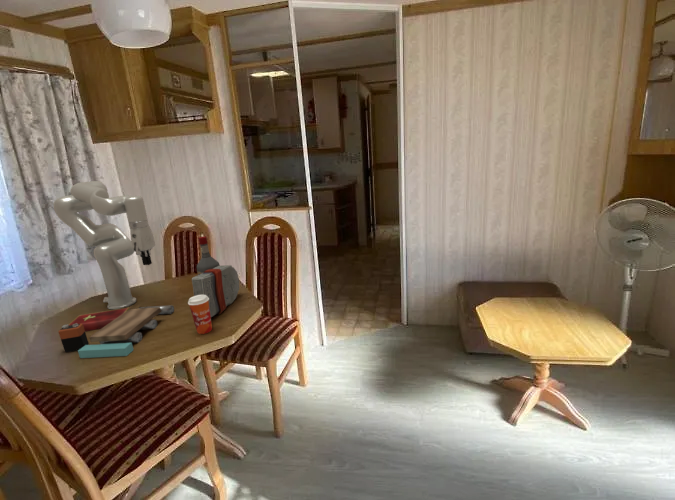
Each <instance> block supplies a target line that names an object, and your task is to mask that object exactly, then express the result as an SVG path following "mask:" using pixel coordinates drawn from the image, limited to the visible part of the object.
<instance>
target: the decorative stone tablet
mask: <svg viewBox="0 0 675 500" xmlns="http://www.w3.org/2000/svg"><path fill="white" fill-rule="evenodd" d="M191 283H192V289H193V290H192V291H193V296H196V295H206V296H208V298H209V300H208V302H209V309H210V316H211V318H212V317H214V316H215V315H221V314H222V313H223V312H224V311H225V310H227V306H230V305H231V304H233V302H234V301H235V300H236V299H237V297H238V293H239V290H240V277H239V274H238V271H237V269H235V267H234V266H232V265H220V266H217V267H215V268H213V269H208V270H206V271H204V272H203V273H202V274H200V275H198V274H197V275H195V276H193V277H192V278H191Z"/></svg>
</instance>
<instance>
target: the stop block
mask: <svg viewBox="0 0 675 500" xmlns="http://www.w3.org/2000/svg"><path fill="white" fill-rule="evenodd" d="M77 352H78V356H79V358H80V359H90V358H92V359H93V358H111V357H112V358H113V357H127V356H129V354H130V353H132V352H134V346H133V343H115V344H99V343H96V344H88V345H85V346H84V347H82V348H81V349H80V350H77Z"/></svg>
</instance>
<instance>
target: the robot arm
mask: <svg viewBox="0 0 675 500" xmlns="http://www.w3.org/2000/svg"><path fill="white" fill-rule="evenodd" d="M109 194H110V193H109V192H108V187H107V186H106V184H105V183H103V182H101V181H100V180H91V181H83V182H77V183H75V184H73V185H72V186H71V188H70V195H64V196H60V197H58V198H56V200H54V202H53V209H54V212H55V215H57V217H58V218H59V219H60V221H62V222H63V223H64V224H65V225H66V226H68V227H70V229H72V230H73V232H74V233H76V234H77V235H78V236H79V238H80V239H81V240H82V241H83V242H84V243H85V244H86V245H87V246H88V247H95V248H94V249H93V256H94V258H95V260H96V262H97V265H98V266H99V268H100V272H101V276H102V278H103V282H104V285H105V290H106V292H107V296H105V297H103V300H102V302H103V303H108V304H107V309H109V310H116V309H122V308H128V307H129V306H132V305H134V304H135V303H137V298H136V297H133V296H132V292H131V288H130V285H129V281H128V276H127V272H126V269H125V266H123V265H122V264H121V263H120V262H119V260H122V259H124V258H128V257H130V256H132V255H134V253H135V254H136V255H137V256H140V258H141V261H142V262H141V263H142V265H144V266H150V265H151V264H152V258H151V255H152V254H151V250H153V248H154V247H155V246H156V242H155V238H154V234H153V231H152V229H151V225H150V224H149V220H148V215H147V210H146V206H145V201H144V198H143V196H140V195H129V194H127V195H120V196H112V197H110V195H109ZM92 210H94V212H95V213H98V214H100V215H103V216H108V217H109V216H110V217H111V216H118V215H121V214H126V218H127V222H128V227H129V231H130V232H129V233H130V234H129V235H130V238H129V237H128V236H127V235H126V234H125V233H124V232H123V231H122V230H121V228H120V227H118V226H117V225H115V224H113V223H103V224H95V223H94V222H93V220H92V219H90V218H89V217H87V216H86V215H83V214H80V213H81V212H86V211H87V212H88V211H92Z"/></svg>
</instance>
